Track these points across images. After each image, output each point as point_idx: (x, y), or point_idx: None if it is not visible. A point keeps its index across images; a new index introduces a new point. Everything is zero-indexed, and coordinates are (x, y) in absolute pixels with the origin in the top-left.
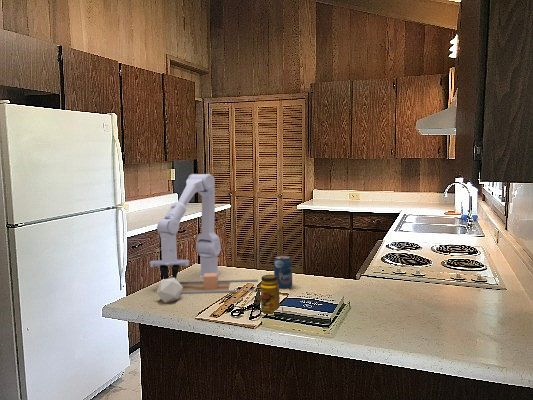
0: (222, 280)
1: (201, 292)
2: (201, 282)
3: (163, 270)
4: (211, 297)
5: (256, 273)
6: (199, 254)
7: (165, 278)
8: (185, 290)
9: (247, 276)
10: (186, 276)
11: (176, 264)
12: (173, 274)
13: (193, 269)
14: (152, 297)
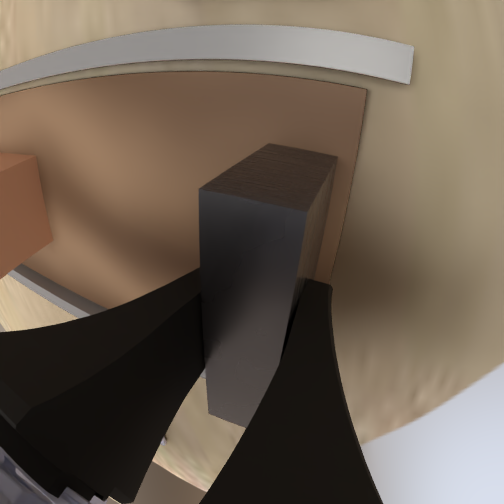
0: (17, 277)
1: (24, 63)
2: (89, 307)
3: (282, 499)
4: (6, 20)
5: (12, 329)
6: (99, 501)
7: (310, 344)
8: (130, 149)
9: (13, 315)
10: (224, 447)
11: (15, 466)
12: (122, 332)
13: None
14: (493, 31)
